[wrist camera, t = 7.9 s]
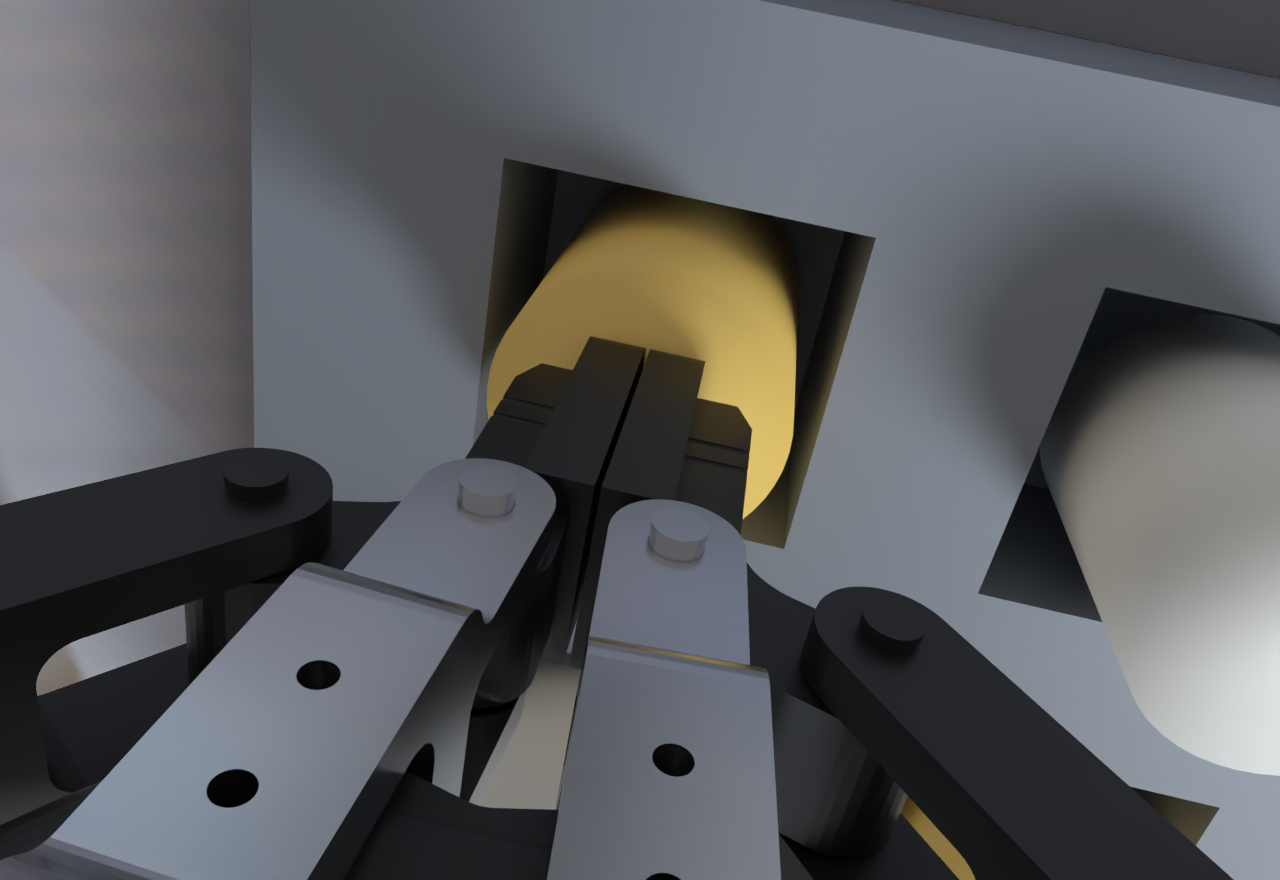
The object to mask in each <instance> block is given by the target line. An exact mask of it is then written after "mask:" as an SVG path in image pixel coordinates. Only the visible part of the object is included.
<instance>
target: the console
mask: <svg viewBox="0 0 1280 880" xmlns="http://www.w3.org/2000/svg"><path fill="white" fill-rule="evenodd" d="M250 67H251V177H252V287H253V397H254V448H273V449H280V450H286V451H290V452H294V453H298V454H301V455H303V456H306V457H308V458H310V459H312V460H314V461H316V462H317V463H319V464H320V465H321V466H322V467H324V468H325V470H326V471H327V472H328V473H329V475H330V477H331V479H332V483H333V501H357V502H393V501H402V500H403V499H404V497H405V496H406V495H407V494H408V493H409V492H410V490H411V489H412V488H413V487H414V486H415V484H416V483H417V482H418V481H419V480H420V478H421V477H422V476H423V475H424V474H425V473H427V472H428V471H429V470H431V469H432V468H434V467H436V466H438V465H441V464H443V463H446V462H450V461H454V460H460V459H465V458H466V456H467V455H468V453H469V452H470V450H471V448H472V447H473V445H474V443H475V442H476V440H477V438H478V437H479V435H480V434H481V432H482V430H483V429H484V427H485V425H486V424H487V422H488V411H487V384H488V379H489V373H490V368H491V365H492V362H493V359H494V356H495V353H496V350H497V348H498V346H499V344H500V342H501V340H502V338H503V337H504V335H505V333H506V331H507V330H508V329H509V327H510V326H511V324H512V323H513V322H514V320H515V319H516V317H517V316H518V314H519V313H520V312H521V310H522V309H523V307H524V306H525V305H526V303H527V302H528V300H529V299H530V297H531V296H532V295H533V293H534V292H535V290H536V289H537V288H538V286H539V285H540V283H541V282H542V280H543V279H544V278H545V276H546V275H547V273H548V272H549V271H550V269H551V268H552V266H553V265H554V263H555V262H556V261H557V259H558V258H559V256H560V255H561V254H562V252H563V251H564V249H565V248H566V246H567V245H568V244H569V242H570V241H571V239H572V238H573V237H574V235H575V234H576V232H577V231H578V230H579V228H580V227H581V225H582V224H583V222H584V221H585V220H586V218H587V217H588V216H589V214H590V213H591V212H592V211H593V210H594V208H595V207H596V206H597V205H598V204H599V203H600V202H601V201H602V200H604V199H605V198H606V197H608V196H609V195H610V194H611V193H613V192H614V191H616V190H617V189H619V188H621V187H623V186H624V185H626V184H628V185H632V186H637V187H642V188H646V189H651V190H655V191H660V192H665V193H669V194H674V195H679V196H683V197H688V198H693V199H697V200H702V201H707V202H711V203H716V204H721V205H725V206H730V207H735V208H739V209H744V210H749V211H753V212H758V213H763V214H767V215H772V216H773V217H774V219H775V220H776V221H777V223H778V224H779V226H780V227H781V228H782V230H783V232H784V234H785V236H786V238H787V239H788V241H789V244H790V246H791V249H792V252H793V254H794V258H795V262H796V266H797V271H798V283H799V292H798V321H797V349H796V378H795V406H794V428H793V438H792V443H791V448H790V453H789V455H788V458H787V461H786V464H785V466H784V469H783V471H782V473H781V475H780V477H779V478H778V480H777V482H776V484H775V486H774V487H773V488H772V490H771V491H770V492H769V494H768V495H767V496H766V498H765V499H764V500H763V501H762V502H761V503H760V504H759V505H758V506H757V507H756V508H755V509H754V510H753V511H752V512H751V513H750V514H749V515H748V516H746V517H745V518H744V519H742V528H741V537H742V539H743V541H744V543H745V547H746V556H747V563H748V564H749V566H750V567H751V568H752V570H753V571H754V572H755V573H756V574H757V575H758V576H759V577H760V578H762V579H763V580H764V581H765V582H767V583H768V584H769V585H770V586H772V587H774V588H775V589H777V590H778V591H780V592H782V593H784V594H786V595H788V596H790V597H791V598H793V599H796V600H798V601H800V602H802V603H804V604H807V605H809V606H811V607H813V608H815V609H816V607H817V605H818V603H819V601H820V600H821V599H822V598H823V597H824V596H825V595H827V594H829V593H831V592H832V591H835V590H838V589H841V588H847V587H860V586H863V587H874V588H879V589H884V590H888V591H892V592H895V593H898V594H901V595H903V596H906V597H908V598H911V599H913V600H915V601H917V602H919V603H921V604H922V605H924V606H926V607H927V608H929V609H930V610H932V611H933V612H935V613H936V614H937V615H938V616H940V617H941V618H942V619H943V620H944V621H945V622H947V623H948V624H949V625H950V626H951V627H952V628H953V629H954V630H955V631H957V632H958V633H959V634H960V635H961V636H962V637H963V638H964V639H966V640H967V641H968V642H969V643H970V644H971V645H972V646H973V647H974V648H976V649H977V650H978V651H979V652H980V653H981V654H982V655H983V656H985V657H986V658H987V659H988V660H989V661H990V662H991V663H992V664H993V665H995V666H996V667H997V668H998V669H999V670H1000V671H1001V672H1002V673H1003V674H1005V675H1006V676H1007V677H1008V678H1009V679H1010V680H1011V681H1012V682H1014V683H1015V684H1016V685H1017V686H1018V687H1019V688H1020V689H1021V690H1022V691H1024V692H1025V693H1026V694H1027V695H1028V696H1029V697H1030V698H1031V699H1033V700H1034V701H1035V702H1036V703H1037V704H1038V705H1039V706H1040V707H1041V708H1043V709H1044V710H1045V711H1046V712H1047V713H1048V714H1049V715H1050V716H1052V717H1053V718H1054V719H1055V720H1056V721H1057V722H1058V723H1059V724H1060V725H1062V726H1063V727H1064V728H1065V729H1066V730H1067V731H1068V732H1069V733H1071V734H1072V735H1073V736H1074V737H1075V738H1076V739H1077V740H1078V741H1079V742H1081V743H1082V744H1083V745H1084V746H1085V747H1086V748H1087V749H1088V750H1089V751H1091V752H1092V753H1093V754H1094V755H1095V756H1096V757H1097V758H1098V759H1100V760H1101V761H1102V762H1103V763H1104V764H1105V765H1106V766H1107V767H1108V768H1110V769H1111V770H1112V771H1113V772H1114V773H1115V774H1116V775H1117V776H1119V777H1120V778H1121V779H1122V780H1123V781H1124V782H1125V783H1126V784H1127V785H1129V786H1130V787H1131V788H1132V789H1133V790H1134V791H1135V792H1136V793H1138V794H1139V795H1140V796H1141V797H1142V798H1143V799H1144V800H1145V801H1146V802H1148V803H1149V804H1150V805H1151V806H1152V807H1153V808H1154V809H1155V810H1157V811H1158V812H1159V813H1160V814H1161V815H1162V816H1163V817H1164V818H1165V819H1167V820H1168V821H1169V822H1170V823H1171V824H1172V825H1173V826H1174V827H1175V828H1177V829H1178V830H1179V831H1180V832H1181V833H1182V834H1183V835H1184V836H1186V837H1187V838H1188V839H1189V840H1190V841H1191V842H1192V843H1193V844H1194V845H1196V846H1197V847H1198V848H1199V849H1200V850H1201V851H1202V852H1203V853H1205V854H1206V855H1207V856H1208V857H1209V858H1210V859H1211V860H1212V861H1213V862H1215V863H1216V864H1217V865H1218V866H1219V867H1220V868H1221V869H1222V870H1224V871H1225V872H1226V873H1227V874H1228V875H1229V876H1230V877H1231V878H1232V879H1234V880H1280V776H1276V775H1265V774H1256V773H1250V772H1245V771H1239V770H1234V769H1231V768H1227V767H1224V766H1221V765H1217V764H1214V763H1211V762H1209V761H1207V760H1204V759H1202V758H1199V757H1197V756H1195V755H1193V754H1191V753H1189V752H1187V751H1186V750H1184V749H1182V748H1180V747H1178V746H1177V745H1175V744H1174V743H1173V742H1171V741H1170V740H1169V739H1167V738H1166V737H1165V736H1163V735H1162V734H1161V733H1160V732H1159V731H1158V730H1157V729H1156V728H1155V727H1154V726H1153V725H1152V724H1151V723H1150V722H1149V721H1148V720H1147V718H1146V717H1145V716H1144V714H1143V713H1142V711H1141V710H1140V709H1139V707H1138V706H1137V704H1136V702H1135V700H1134V698H1133V696H1132V694H1131V692H1130V689H1129V687H1128V684H1127V682H1126V679H1125V677H1124V674H1123V672H1122V669H1121V667H1120V665H1119V662H1118V660H1117V657H1116V655H1115V652H1114V650H1113V647H1112V645H1111V642H1110V640H1109V637H1108V635H1107V632H1106V630H1105V627H1104V625H1103V622H1102V620H1101V617H1100V615H1099V612H1098V610H1097V607H1096V605H1095V602H1094V600H1093V597H1092V595H1091V592H1090V590H1089V587H1088V585H1087V582H1086V580H1085V577H1084V575H1083V572H1082V570H1081V567H1080V565H1079V562H1078V560H1077V557H1076V555H1075V552H1074V550H1073V547H1072V545H1071V542H1070V540H1069V537H1068V535H1067V532H1066V530H1065V527H1064V525H1063V522H1062V520H1061V517H1060V515H1059V512H1058V510H1057V507H1056V505H1055V502H1054V500H1053V497H1052V495H1051V492H1050V490H1049V487H1048V485H1047V482H1046V480H1045V476H1044V473H1043V470H1042V466H1041V459H1040V444H1041V441H1042V439H1043V436H1044V434H1045V432H1046V429H1047V427H1048V424H1049V422H1050V420H1051V417H1052V415H1053V412H1054V410H1055V408H1056V405H1057V403H1058V400H1059V398H1060V396H1061V393H1062V391H1063V388H1064V386H1065V384H1066V381H1067V379H1068V376H1069V374H1070V373H1071V372H1072V370H1073V369H1074V368H1075V367H1076V366H1077V365H1078V364H1079V363H1080V362H1081V361H1082V360H1083V359H1085V358H1086V357H1087V356H1088V355H1089V354H1090V353H1092V352H1093V351H1094V350H1096V349H1097V348H1099V347H1100V346H1101V345H1103V344H1104V343H1106V342H1107V341H1109V340H1111V339H1113V338H1114V337H1116V336H1118V335H1120V334H1121V333H1124V332H1126V331H1128V330H1131V329H1133V328H1135V327H1138V326H1140V325H1143V324H1146V323H1150V322H1153V321H1156V320H1160V319H1165V318H1170V317H1175V316H1182V315H1194V314H1207V315H1221V316H1228V317H1235V318H1239V319H1242V320H1246V321H1249V322H1253V323H1255V324H1257V325H1260V326H1262V327H1264V328H1267V329H1269V330H1271V331H1272V332H1274V333H1275V334H1277V335H1279V336H1280V79H1278V78H1273V77H1268V76H1263V75H1258V74H1253V73H1248V72H1243V71H1238V70H1233V69H1228V68H1224V67H1219V66H1214V65H1209V64H1204V63H1199V62H1194V61H1189V60H1184V59H1179V58H1174V57H1170V56H1165V55H1160V54H1155V53H1150V52H1145V51H1140V50H1135V49H1130V48H1125V47H1120V46H1116V45H1111V44H1106V43H1101V42H1096V41H1091V40H1086V39H1081V38H1076V37H1071V36H1066V35H1062V34H1057V33H1052V32H1047V31H1042V30H1037V29H1032V28H1027V27H1022V26H1017V25H1012V24H1007V23H1003V22H998V21H993V20H988V19H983V18H978V17H973V16H968V15H963V14H958V13H953V12H949V11H944V10H939V9H934V8H929V7H924V6H919V5H914V4H909V3H904V2H899V1H895V0H250ZM576 624H577V622H576ZM575 629H576V625H575V628H574V631H573V634H572V637H571V640H570V644H569V647H568V650H567V653H569V654H571V651H572V645H573V640H574V635H575Z"/></svg>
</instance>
